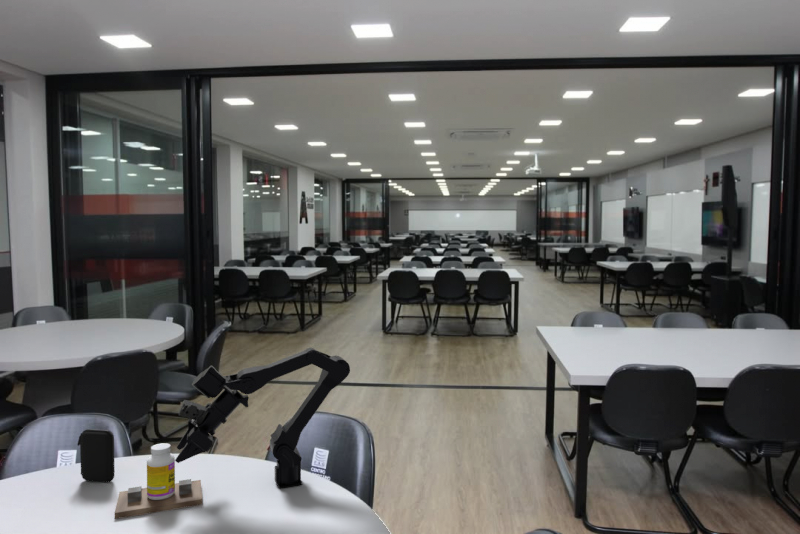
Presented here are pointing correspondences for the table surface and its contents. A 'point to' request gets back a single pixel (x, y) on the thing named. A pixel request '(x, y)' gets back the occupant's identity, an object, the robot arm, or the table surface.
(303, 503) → the table surface
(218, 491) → the table surface
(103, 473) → the carrying case or bag
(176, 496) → the board
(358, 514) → the table surface
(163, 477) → the supplement bottle
